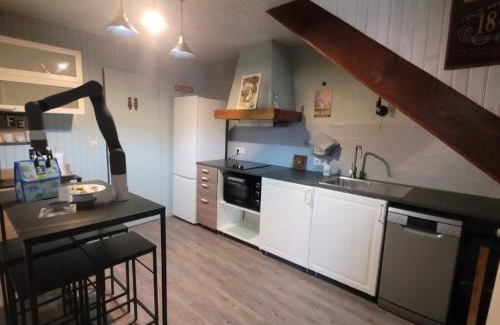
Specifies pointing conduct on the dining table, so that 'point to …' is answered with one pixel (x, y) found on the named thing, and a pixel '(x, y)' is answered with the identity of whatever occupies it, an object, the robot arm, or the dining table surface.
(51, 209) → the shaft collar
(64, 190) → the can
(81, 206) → the dining table surface
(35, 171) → the lunch bag
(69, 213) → the shaft board
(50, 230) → the dining table surface
